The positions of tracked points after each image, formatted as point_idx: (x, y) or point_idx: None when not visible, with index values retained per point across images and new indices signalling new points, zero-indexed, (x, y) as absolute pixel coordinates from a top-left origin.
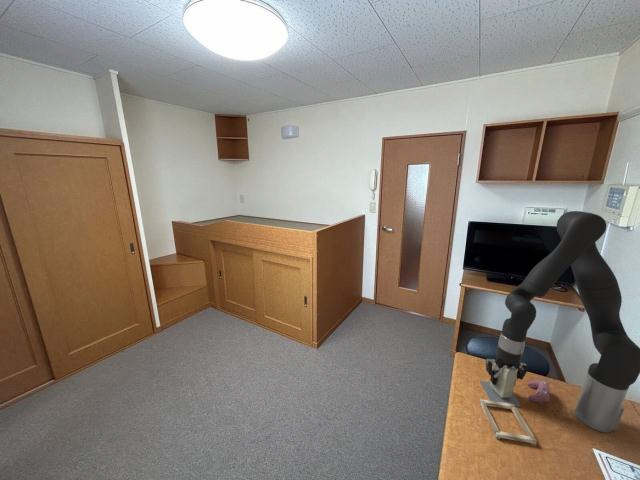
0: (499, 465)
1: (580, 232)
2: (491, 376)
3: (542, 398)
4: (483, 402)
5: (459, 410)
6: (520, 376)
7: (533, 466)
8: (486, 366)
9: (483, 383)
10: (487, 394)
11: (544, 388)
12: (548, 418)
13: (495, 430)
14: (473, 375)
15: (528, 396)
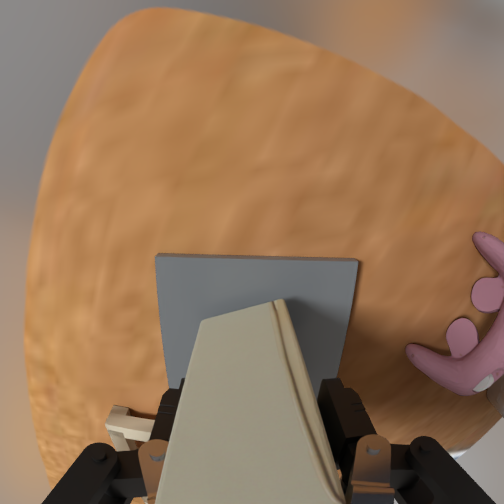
0: None
1: None
2: (154, 433)
3: (450, 390)
4: (119, 436)
5: (48, 420)
6: (397, 497)
7: None
8: (62, 490)
9: (170, 282)
10: (167, 367)
11: (502, 367)
12: (400, 417)
13: (143, 500)
14: (133, 186)
15: (412, 353)
